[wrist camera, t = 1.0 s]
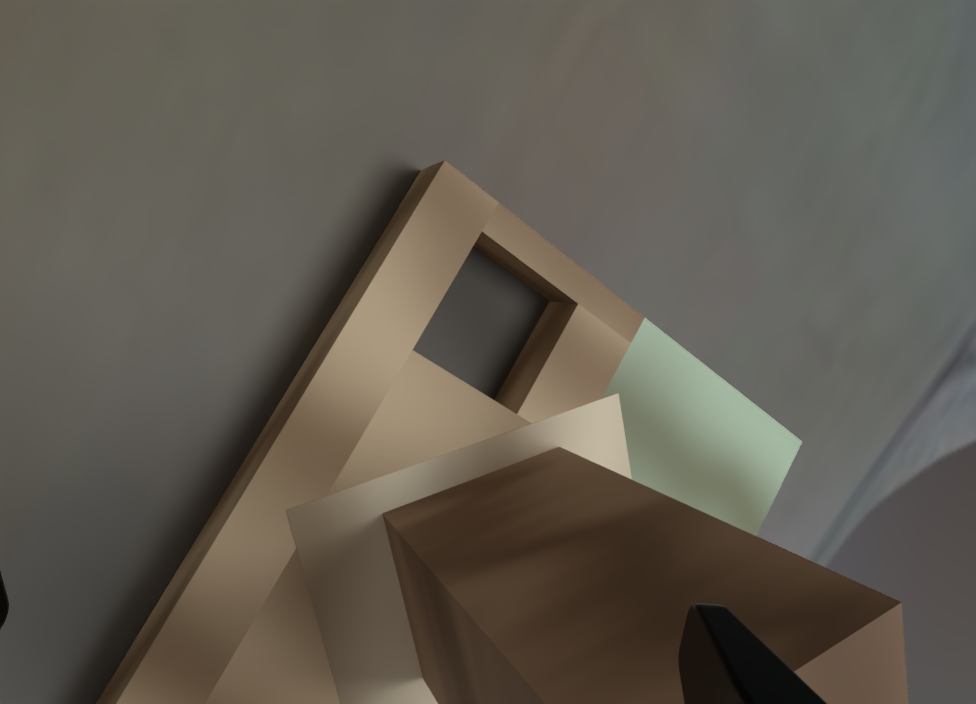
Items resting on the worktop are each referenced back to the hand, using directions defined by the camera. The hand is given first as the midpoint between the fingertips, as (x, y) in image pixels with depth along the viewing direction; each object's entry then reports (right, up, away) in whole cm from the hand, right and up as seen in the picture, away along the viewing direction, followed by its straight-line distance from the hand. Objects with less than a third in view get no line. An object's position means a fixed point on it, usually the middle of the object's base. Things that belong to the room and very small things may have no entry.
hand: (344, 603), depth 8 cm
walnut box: (+2, -3, +12) cm, 12 cm away
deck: (+2, -3, +14) cm, 15 cm away
